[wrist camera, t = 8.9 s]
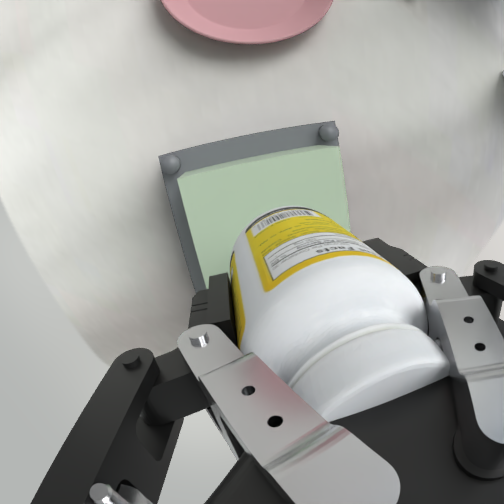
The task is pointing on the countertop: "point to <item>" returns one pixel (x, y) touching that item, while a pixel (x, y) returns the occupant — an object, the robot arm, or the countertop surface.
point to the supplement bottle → (329, 314)
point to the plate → (248, 18)
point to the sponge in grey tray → (250, 188)
